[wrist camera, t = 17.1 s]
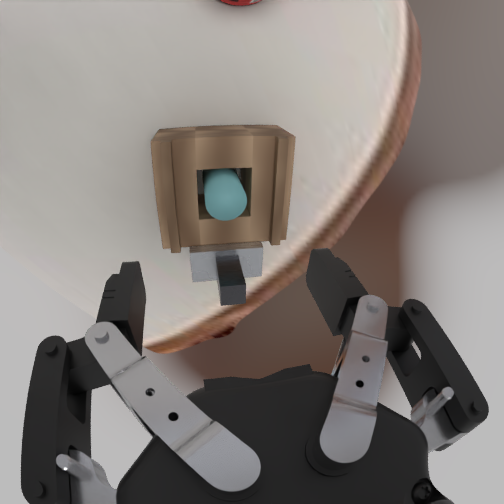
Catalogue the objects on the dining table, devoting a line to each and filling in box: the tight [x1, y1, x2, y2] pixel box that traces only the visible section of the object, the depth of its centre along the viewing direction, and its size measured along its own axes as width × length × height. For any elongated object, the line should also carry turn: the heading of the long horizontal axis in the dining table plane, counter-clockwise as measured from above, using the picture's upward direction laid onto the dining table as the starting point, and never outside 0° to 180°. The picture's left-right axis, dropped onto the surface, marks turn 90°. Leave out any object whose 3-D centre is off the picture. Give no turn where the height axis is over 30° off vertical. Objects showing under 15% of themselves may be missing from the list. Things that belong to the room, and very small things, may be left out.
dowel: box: [203, 168, 247, 221], centre depth 31 cm, size 4×4×9 cm
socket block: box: [151, 125, 295, 253], centre depth 31 cm, size 14×12×8 cm
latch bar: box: [190, 242, 263, 306], centre depth 31 cm, size 8×4×6 cm, turn 88°
